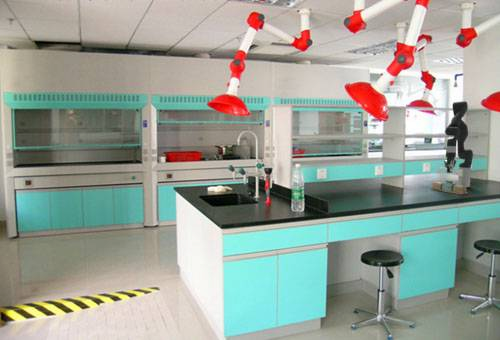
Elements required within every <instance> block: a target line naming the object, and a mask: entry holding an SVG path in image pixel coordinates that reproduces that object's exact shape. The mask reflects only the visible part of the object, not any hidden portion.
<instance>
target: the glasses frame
mask: <svg viewBox="0 0 500 340" xmlns="http://www.w3.org/2000/svg"><path fill="white" fill-rule="evenodd" d="M443 171H446V172H447V168H446V167H443V166H442V167H440V166H439V167H437V172H436V173H437V174H442V173H443ZM450 171H452V173H457V177H458V176H462V173H463V170H460V169H459V168H458V169H457V168H453V169H452V168H450Z"/></svg>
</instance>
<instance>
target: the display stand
mask: <svg viewBox="0 0 500 340" xmlns="http://www.w3.org/2000/svg"><path fill="white" fill-rule="evenodd" d="M431 183H432V185H431V186H432V187H431V188H430V190H433V191H438V192H445V193H451V194H456V195H466V194H468V192H467V187H466V186H462V185H458V184H457V183H455V182H454V181H453V180H449V179H448V180H447V179H446V180H445V181H444V182H442V181H441V182H440V181H434V182H431Z"/></svg>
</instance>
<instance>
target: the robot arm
mask: <svg viewBox="0 0 500 340" xmlns="http://www.w3.org/2000/svg"><path fill="white" fill-rule="evenodd" d="M468 108H469V105H468V102H467V101H465V100H461V101H455V102H453V103H452V112H453V116H452V118H451V121H450V123H449V124H448V126H447V127H446V128H445V131H444V133H445V135H446V136H447V137H449V136H451V138H448V139H446V140H447V141H446V147H445V148H446V149H445V157H446V160H443V161H444V168H447V171H446V173H447V174H450V173H451V174H452V173H453V172H452V171H450V168H452V169H454V168H455V167H456V164H457V160H456V159H455V158H457V156H458V159H460V160H464V161H463V162H460V163H459V165H458V169H460V170H463V173H462V176H458V175H457V177H458V179H457V185H462V186H466V188H470V187H471V168H472V163H473V158H474V157H473V156H474V153H473V150H472V149H470V148H465V142H466V140H467V137H468V136H469V128H468V125H467V124H466V122H464V120H463V117H464V116H465V114H467V111H468ZM452 136H453V138H452Z"/></svg>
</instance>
